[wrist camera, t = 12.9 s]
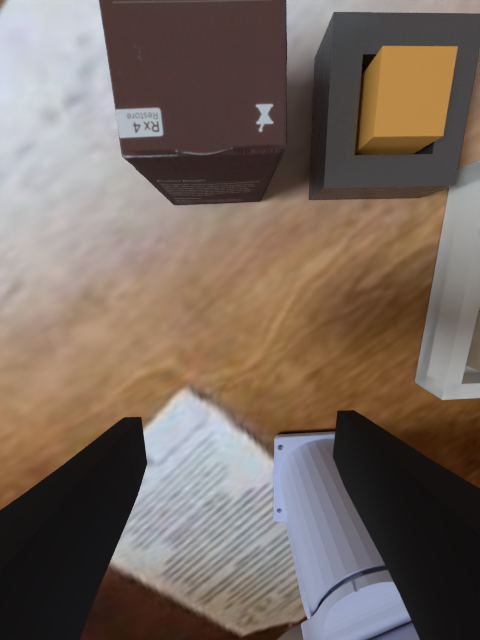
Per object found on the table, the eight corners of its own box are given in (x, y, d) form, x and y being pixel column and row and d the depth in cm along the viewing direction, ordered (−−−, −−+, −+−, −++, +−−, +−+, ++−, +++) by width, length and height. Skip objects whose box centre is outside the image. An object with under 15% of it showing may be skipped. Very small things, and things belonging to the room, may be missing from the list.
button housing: (419, 198, 15) (454, 185, 13) (308, 200, 15) (323, 187, 13) (440, 58, 14) (485, 13, 11) (314, 57, 13) (333, 11, 11)
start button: (400, 161, 14) (443, 136, 11) (344, 162, 14) (373, 136, 11) (408, 92, 14) (457, 46, 11) (349, 92, 13) (382, 45, 10)
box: (260, 95, 14) (294, -86, 7) (262, 204, 15) (290, 152, 8) (159, 96, 14) (80, -89, 6) (170, 207, 15) (116, 155, 8)
